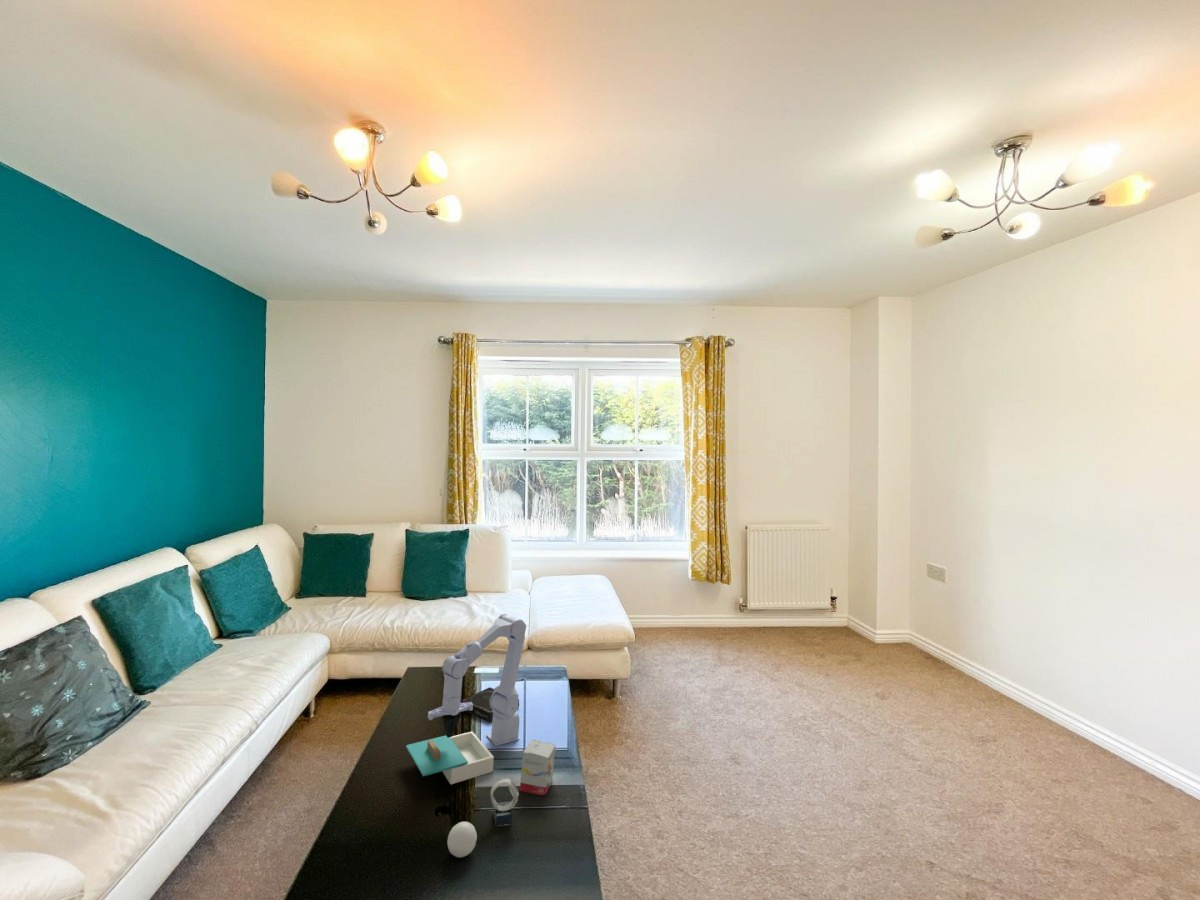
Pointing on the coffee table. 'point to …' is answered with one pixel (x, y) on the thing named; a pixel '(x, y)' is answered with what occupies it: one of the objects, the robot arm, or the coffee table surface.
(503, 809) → the watch
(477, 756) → the mailer box
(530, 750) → the ink box
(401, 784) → the coffee table surface
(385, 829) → the coffee table surface
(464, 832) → the white egg
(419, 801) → the coffee table surface
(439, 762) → the lid
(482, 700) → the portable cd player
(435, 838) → the coffee table surface
